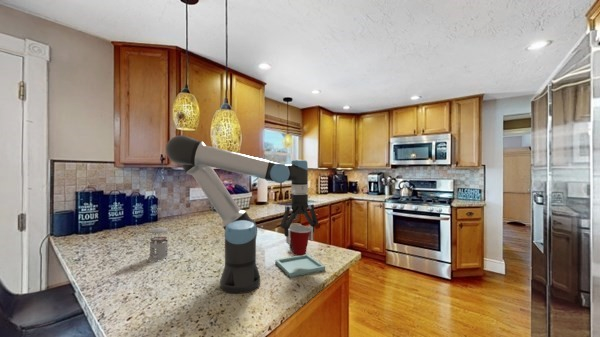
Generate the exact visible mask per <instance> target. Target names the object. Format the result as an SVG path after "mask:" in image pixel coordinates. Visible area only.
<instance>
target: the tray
mask: <svg viewBox="0 0 600 337" xmlns="http://www.w3.org/2000/svg"><path fill="white" fill-rule="evenodd" d="M274 260H275V265H276V266H277V267H278V268H279V269H280V270H282V272H284V274H286V275H287V276H288V277H289V278H290V279H291V278H297V277H300V276H304V275H310V274H315V273H320V272H324V271H326V266H325V265H324V264H322V263H321V262H319V261H318V260H317V259H315V258H313V257H312V256H310V255H309V254H308V253H306V254H305V255H302V256H296V255H294V256H289V257H284V258H278V259H274Z"/></svg>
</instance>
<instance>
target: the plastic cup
mask: <svg viewBox="0 0 600 337" xmlns="http://www.w3.org/2000/svg"><path fill="white" fill-rule="evenodd" d="M289 229H290V238H291V245H292V248H291V249H292V254H293V255H294V256H302V255H305V254H307V247H308V244H309V234H310V231H311V230H312V229H311V228H309V226H306V225H302V224H301V225H293V226H290V227H289Z"/></svg>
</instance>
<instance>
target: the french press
mask: <svg viewBox="0 0 600 337" xmlns="http://www.w3.org/2000/svg"><path fill="white" fill-rule="evenodd" d="M156 211H157V212H160V211H162V208H160V207H157V209H156ZM168 230H169V228H166V227H164V226H163V227H162V226H158V227H155V228H152V229H151V230H150V231H149V233H151V236H150V237H151V238H150V242H149V257H148V258H147V259H148V260H151V261H150V262H159V261H158V260H161V261H164V260H163V259H165V258H167V257H169V256H170V254H168V249H169V247H168V246H169V245H168V244H169V242H168V237H167V236H157V235H159V234H162V233H166V232H168ZM153 235H154V237H153ZM169 258H170V257H169ZM167 259H168V258H167ZM148 260H147V261H148ZM165 260H166V259H165Z"/></svg>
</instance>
